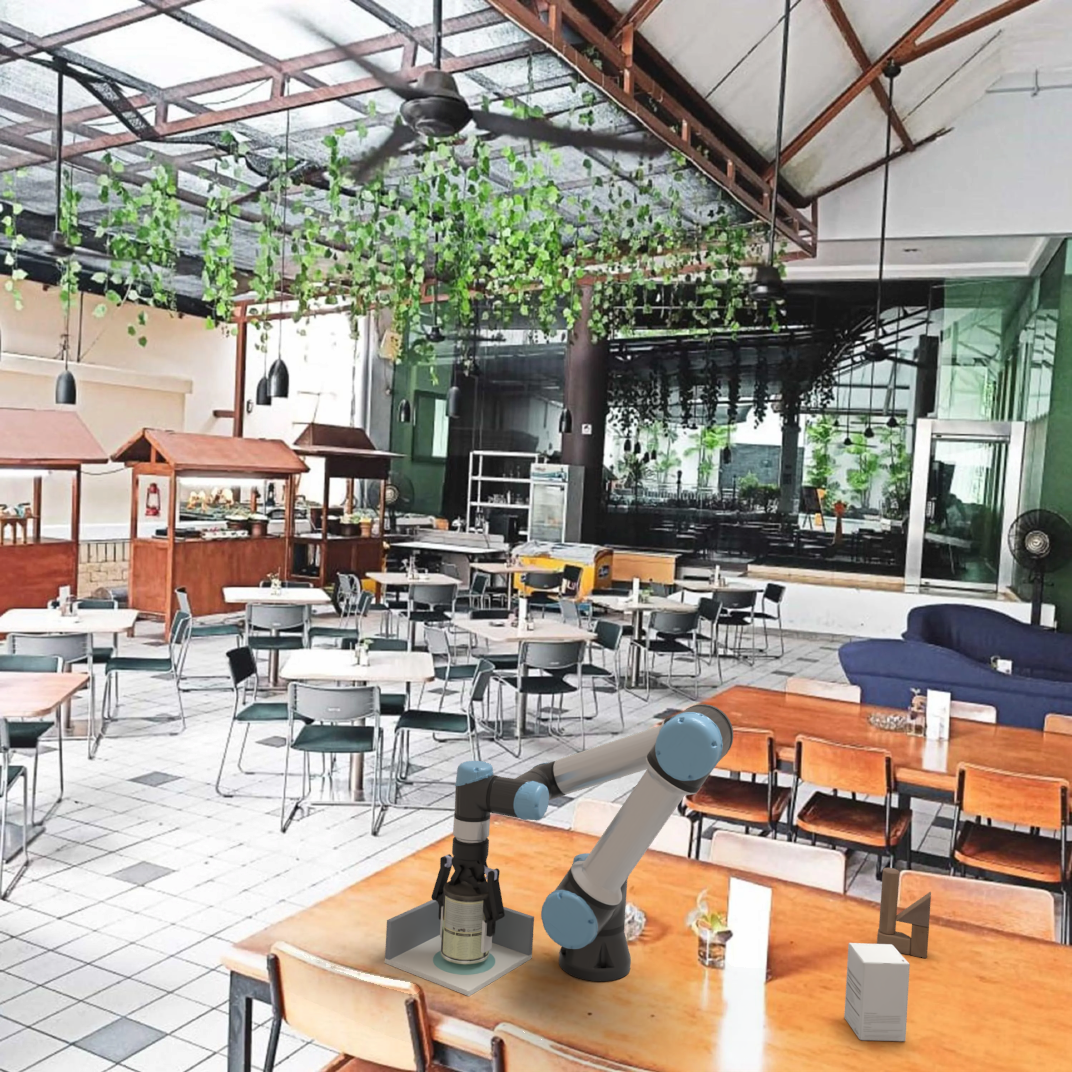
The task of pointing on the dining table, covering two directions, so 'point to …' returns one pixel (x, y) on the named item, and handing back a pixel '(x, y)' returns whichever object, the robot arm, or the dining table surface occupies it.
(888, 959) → the supplement box
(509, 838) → the dining table surface
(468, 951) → the coffee can
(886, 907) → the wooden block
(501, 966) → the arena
